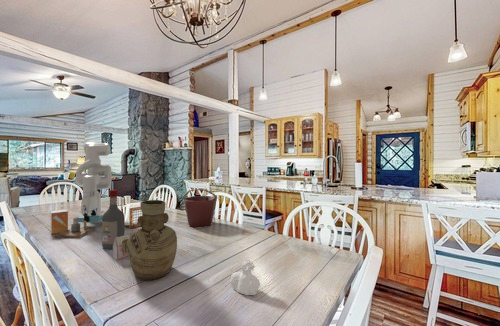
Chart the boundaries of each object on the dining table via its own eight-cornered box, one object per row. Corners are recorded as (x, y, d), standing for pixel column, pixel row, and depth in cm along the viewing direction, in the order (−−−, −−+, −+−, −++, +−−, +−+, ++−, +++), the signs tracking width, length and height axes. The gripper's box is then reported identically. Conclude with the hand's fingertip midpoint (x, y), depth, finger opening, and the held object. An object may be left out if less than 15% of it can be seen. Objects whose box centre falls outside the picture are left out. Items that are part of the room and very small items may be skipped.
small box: (51, 234, 142) (51, 213, 142) (50, 231, 147) (50, 211, 146) (68, 231, 148) (68, 211, 147) (67, 229, 152) (66, 209, 152)
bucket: (176, 226, 161) (176, 190, 160) (193, 218, 182) (193, 186, 181) (208, 230, 154) (208, 192, 153) (222, 221, 175) (222, 188, 174)
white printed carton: (112, 258, 110) (112, 237, 110) (127, 253, 116) (127, 233, 116) (117, 260, 108) (117, 239, 108) (131, 255, 114) (131, 235, 114)
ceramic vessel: (133, 263, 106) (133, 197, 105) (180, 261, 108) (181, 196, 107) (112, 286, 87) (112, 206, 86) (171, 284, 89) (171, 205, 88)
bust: (260, 301, 83) (269, 268, 88) (252, 296, 77) (262, 262, 83) (232, 291, 89) (241, 260, 94) (222, 286, 83) (233, 254, 89)
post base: (73, 230, 151) (73, 214, 150) (94, 230, 150) (94, 214, 150) (54, 237, 137) (54, 220, 136) (78, 237, 136) (78, 220, 136)
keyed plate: (78, 222, 156) (78, 217, 155) (84, 219, 162) (84, 215, 161) (98, 222, 155) (98, 218, 155) (104, 220, 161) (103, 215, 161)
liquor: (114, 250, 120) (114, 191, 119) (99, 248, 122) (98, 191, 121) (127, 243, 129) (127, 189, 128) (112, 242, 131) (112, 188, 130)
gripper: (93, 191, 166) (93, 216, 167) (74, 196, 149) (75, 224, 150) (103, 191, 166) (103, 216, 167) (86, 196, 149) (86, 224, 150)
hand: (90, 219), depth 158 cm, fingers closed on keyed plate, 6 cm apart
